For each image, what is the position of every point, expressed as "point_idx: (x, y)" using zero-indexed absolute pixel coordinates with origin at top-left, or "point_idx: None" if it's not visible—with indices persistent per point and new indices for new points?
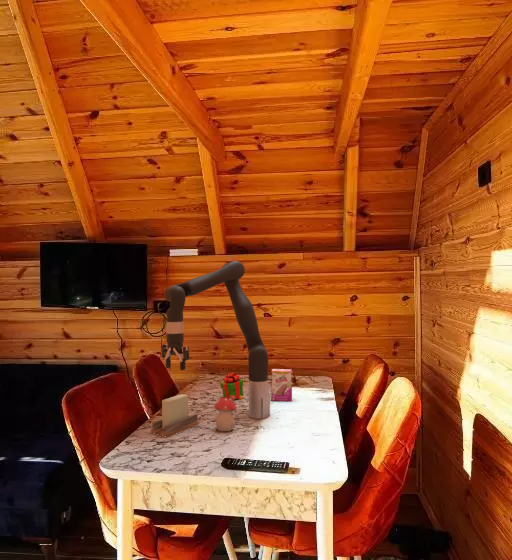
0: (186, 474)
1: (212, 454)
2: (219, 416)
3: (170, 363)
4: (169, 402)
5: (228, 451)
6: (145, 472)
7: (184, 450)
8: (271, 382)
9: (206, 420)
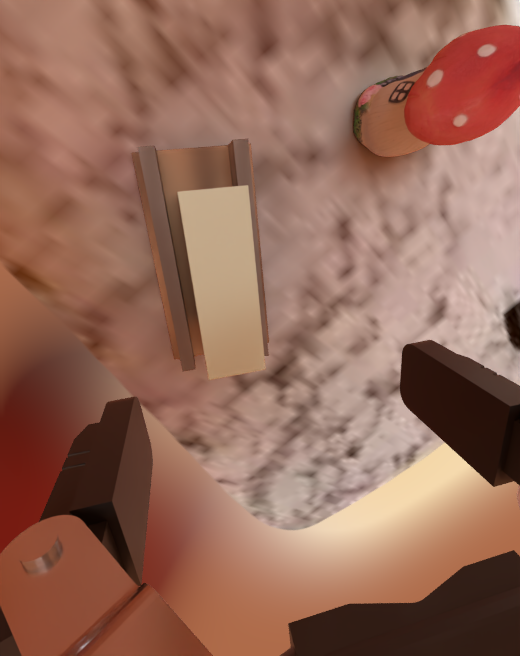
0: None
1: (465, 321)
2: (417, 140)
3: (129, 440)
4: (263, 361)
5: (494, 276)
6: (389, 480)
7: (383, 358)
8: None
9: (230, 63)
